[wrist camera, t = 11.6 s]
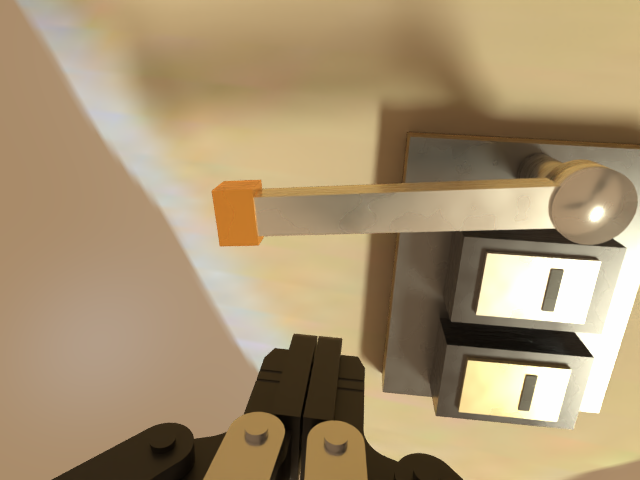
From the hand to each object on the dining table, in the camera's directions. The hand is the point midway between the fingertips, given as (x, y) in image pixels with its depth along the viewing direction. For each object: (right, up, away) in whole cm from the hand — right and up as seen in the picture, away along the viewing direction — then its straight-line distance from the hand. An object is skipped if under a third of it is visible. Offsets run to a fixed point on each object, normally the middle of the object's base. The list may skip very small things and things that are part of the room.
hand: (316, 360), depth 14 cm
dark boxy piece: (+12, +2, +15) cm, 19 cm away
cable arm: (+4, +6, +7) cm, 10 cm away
